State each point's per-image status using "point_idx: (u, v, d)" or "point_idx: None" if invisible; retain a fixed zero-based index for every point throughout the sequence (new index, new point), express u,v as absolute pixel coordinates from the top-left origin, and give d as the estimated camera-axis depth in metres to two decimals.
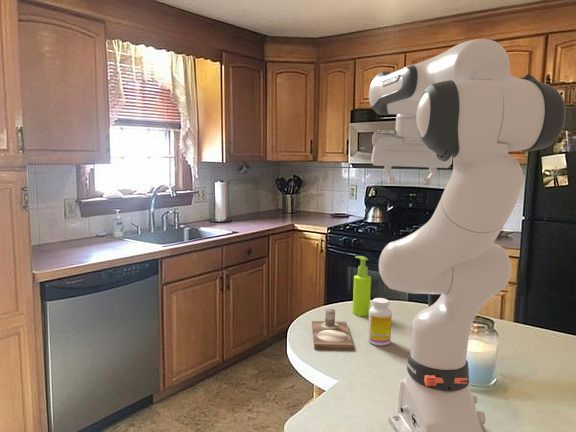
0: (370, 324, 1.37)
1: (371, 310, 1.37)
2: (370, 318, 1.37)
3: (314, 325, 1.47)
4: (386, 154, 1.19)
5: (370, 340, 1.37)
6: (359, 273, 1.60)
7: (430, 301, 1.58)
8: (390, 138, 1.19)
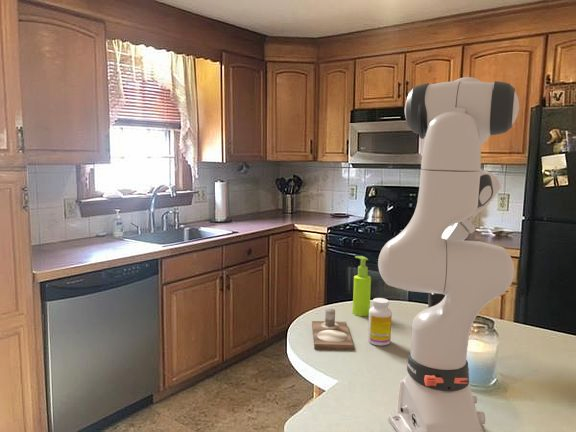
0: (370, 324, 1.37)
1: (371, 310, 1.37)
2: (370, 318, 1.37)
3: (314, 325, 1.47)
4: None
5: (370, 340, 1.37)
6: (359, 273, 1.60)
7: (430, 301, 1.58)
8: None
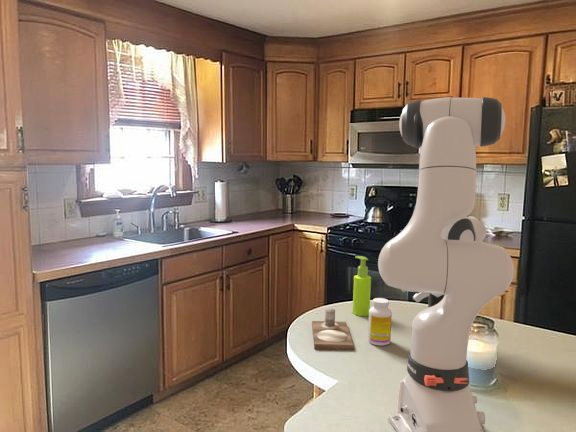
0: (370, 324, 1.37)
1: (371, 310, 1.37)
2: (370, 318, 1.37)
3: (314, 325, 1.47)
4: None
5: (370, 340, 1.37)
6: (359, 273, 1.60)
7: (430, 301, 1.58)
8: None
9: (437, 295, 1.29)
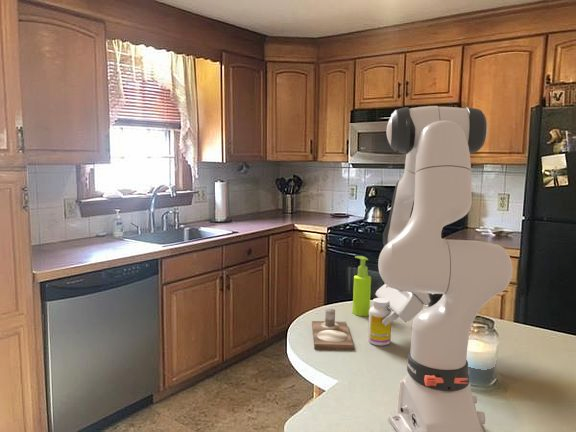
0: (370, 324, 1.37)
1: (371, 310, 1.37)
2: (370, 318, 1.37)
3: (314, 325, 1.47)
4: (384, 289, 1.44)
5: (370, 340, 1.37)
6: (359, 273, 1.60)
7: (430, 301, 1.58)
8: None
9: (405, 320, 1.29)
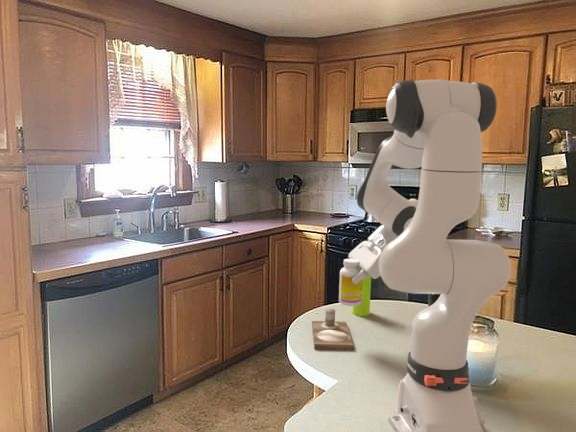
0: (341, 284, 1.35)
1: (342, 270, 1.35)
2: (341, 278, 1.35)
3: (314, 325, 1.47)
4: (356, 250, 1.42)
5: (341, 300, 1.36)
6: None
7: (430, 301, 1.58)
8: (366, 242, 1.42)
9: (374, 277, 1.27)
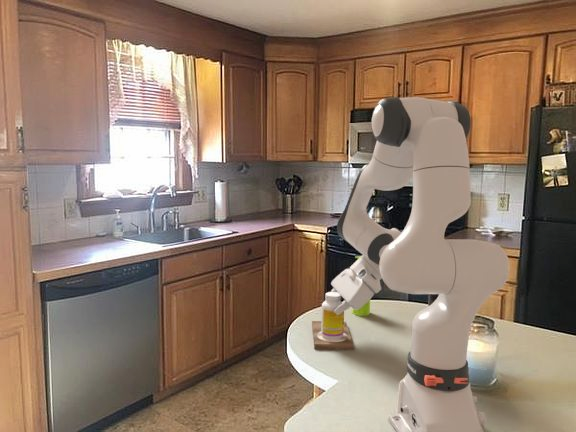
0: (322, 318, 1.36)
1: (323, 304, 1.36)
2: (322, 312, 1.36)
3: (314, 325, 1.47)
4: (339, 278, 1.44)
5: (323, 334, 1.37)
6: None
7: (430, 301, 1.58)
8: (349, 270, 1.43)
9: (355, 308, 1.28)
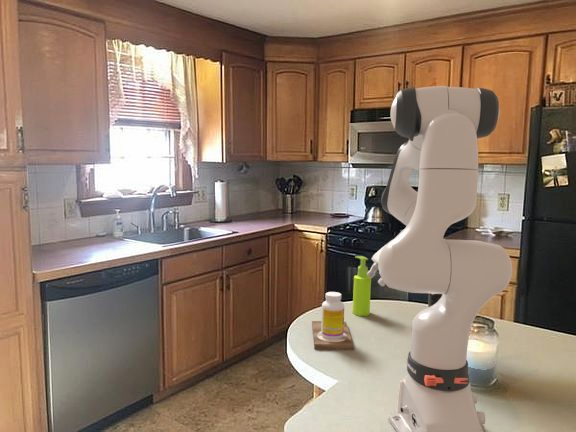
0: (322, 318, 1.36)
1: (323, 304, 1.36)
2: (322, 312, 1.36)
3: (314, 325, 1.47)
4: (380, 253, 1.44)
5: (323, 334, 1.37)
6: (359, 273, 1.60)
7: (430, 301, 1.58)
8: None
9: None
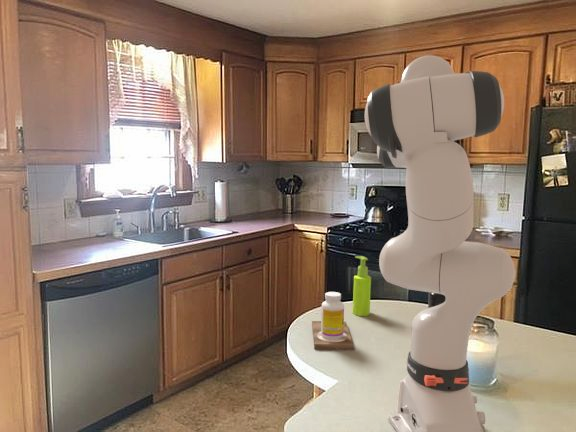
0: (322, 318, 1.37)
1: (323, 304, 1.36)
2: (322, 312, 1.36)
3: (314, 325, 1.47)
4: None
5: (322, 334, 1.37)
6: (359, 273, 1.60)
7: (430, 301, 1.58)
8: None
9: None
